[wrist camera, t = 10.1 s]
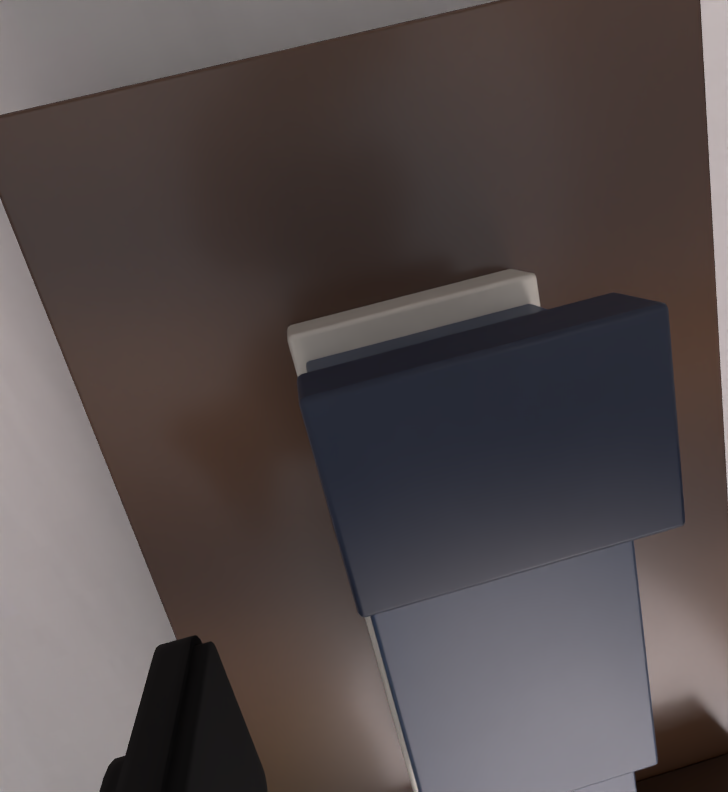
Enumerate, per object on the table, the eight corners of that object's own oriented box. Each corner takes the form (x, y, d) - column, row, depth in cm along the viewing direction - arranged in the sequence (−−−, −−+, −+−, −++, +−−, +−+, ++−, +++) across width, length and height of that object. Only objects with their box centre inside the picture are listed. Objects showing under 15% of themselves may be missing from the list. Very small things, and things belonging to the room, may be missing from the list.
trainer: (285, 325, 12) (288, 402, 7) (512, 267, 12) (679, 298, 7) (404, 753, 15) (466, 1019, 10) (580, 700, 15) (726, 933, 10)
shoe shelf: (54, 149, 14) (-107, 97, 8) (590, 23, 15) (789, -106, 9) (287, 788, 20) (289, 1018, 14) (658, 675, 20) (804, 851, 15)
